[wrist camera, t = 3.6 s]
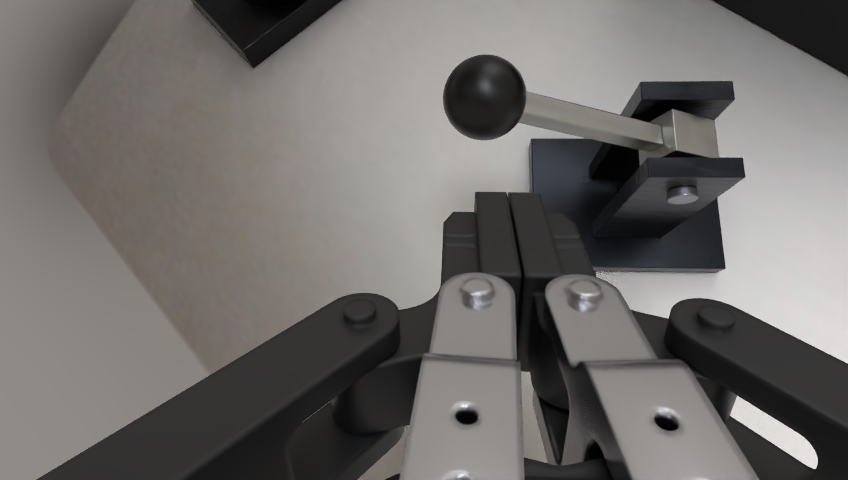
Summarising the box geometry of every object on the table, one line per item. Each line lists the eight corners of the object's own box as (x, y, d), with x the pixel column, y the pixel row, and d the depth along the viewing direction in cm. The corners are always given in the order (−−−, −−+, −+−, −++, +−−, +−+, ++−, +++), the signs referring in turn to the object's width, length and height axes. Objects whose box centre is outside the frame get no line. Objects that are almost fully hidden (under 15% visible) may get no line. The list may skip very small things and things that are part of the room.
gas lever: (429, 144, 25) (465, 108, 21) (431, 72, 26) (465, 28, 22) (673, 192, 30) (732, 169, 26) (667, 131, 31) (723, 101, 27)
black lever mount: (532, 270, 37) (568, 217, 26) (528, 145, 39) (560, 46, 28) (717, 272, 36) (838, 219, 25) (702, 145, 39) (807, 44, 27)
